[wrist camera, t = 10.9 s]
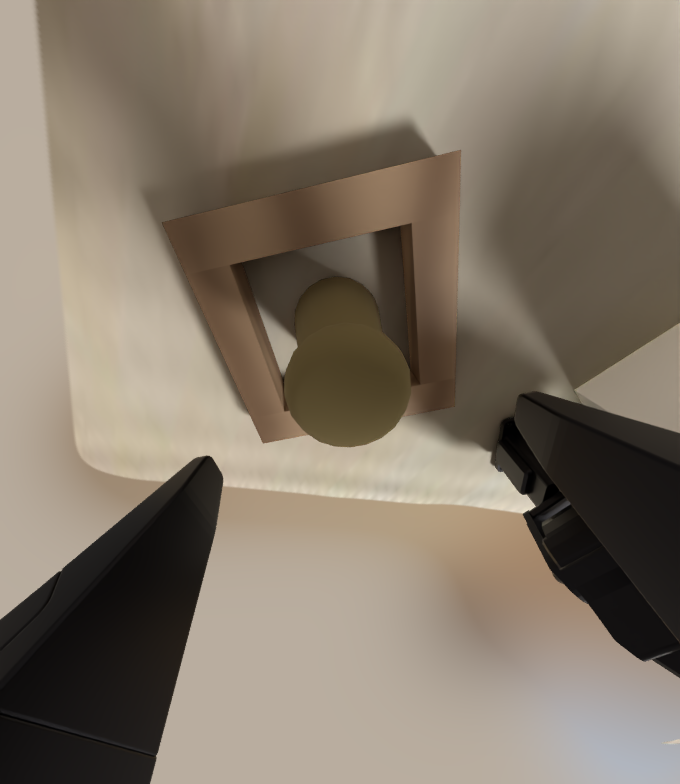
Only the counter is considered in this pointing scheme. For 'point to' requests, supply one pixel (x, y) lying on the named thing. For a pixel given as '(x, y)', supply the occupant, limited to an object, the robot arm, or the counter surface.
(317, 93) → the counter surface
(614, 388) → the milk
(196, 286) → the socket block
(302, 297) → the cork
